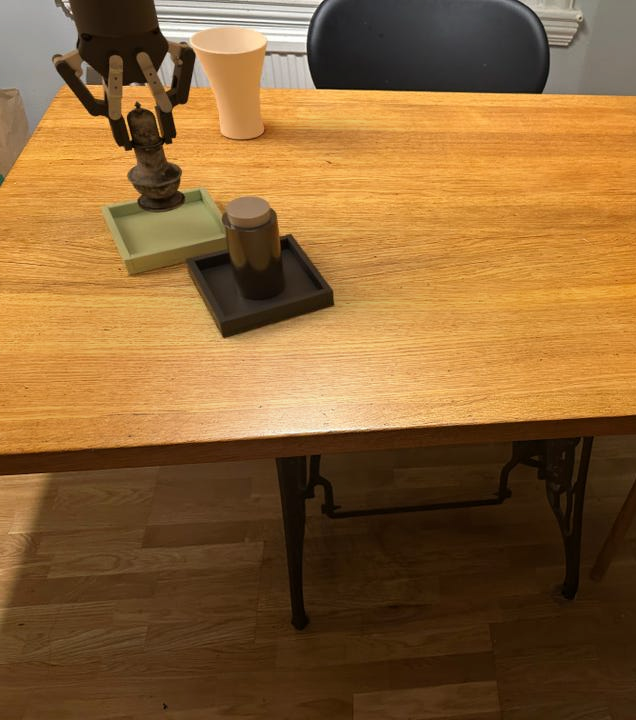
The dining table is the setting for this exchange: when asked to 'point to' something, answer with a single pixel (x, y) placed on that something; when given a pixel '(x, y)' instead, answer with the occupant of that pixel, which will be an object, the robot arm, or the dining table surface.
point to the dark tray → (244, 314)
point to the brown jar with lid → (254, 248)
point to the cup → (234, 76)
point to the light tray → (165, 231)
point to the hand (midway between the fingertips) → (147, 143)
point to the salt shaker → (152, 165)
